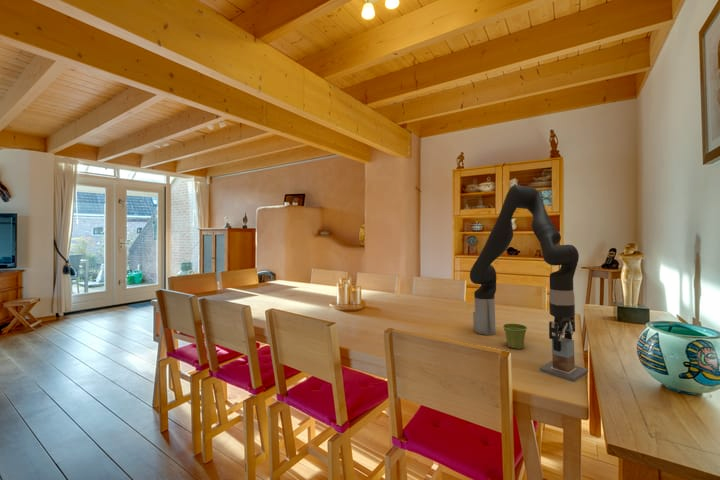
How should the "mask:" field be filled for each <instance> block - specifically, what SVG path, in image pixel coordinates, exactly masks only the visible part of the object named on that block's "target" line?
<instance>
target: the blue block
mask: <svg viewBox="0 0 720 480" xmlns="http://www.w3.org/2000/svg"><path fill="white" fill-rule="evenodd" d="M552 354H555V355H559V356H562V357H566V358H569V357H570V356H572V355H574V356H575V340H574V339H572V340H571V339H567V338H564V336H562V337H561V351H560V352H558V351H555V350H554V349H553V339H551V355H552Z"/></svg>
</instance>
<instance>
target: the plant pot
mask: <svg viewBox="0 0 720 480" xmlns="http://www.w3.org/2000/svg"><path fill="white" fill-rule="evenodd" d="M502 328H503V330H504V332H505V337H506V338H505V339H506V344H507V347H508V346H509V348H510V347H511V349H517V350H520V349H523V348H524V345H525V336H526V331H527V330H528V326H526V325H523V324H520V323H505V324H503V325H502Z"/></svg>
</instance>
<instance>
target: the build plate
mask: <svg viewBox="0 0 720 480" xmlns="http://www.w3.org/2000/svg"><path fill="white" fill-rule="evenodd" d="M539 371H541V372H543V373H546V374H549V375H553V376H556V377H558V378H562V379H565V380H567V381H571V382H576V381H577V380H579V379H581V377H583V376H584V375H585V373H586V374H587V373H589V369H588V368H585V367H582V366H579V365H575V368H574V369H573V370H571V371H570V372H565V371H562V370H558V369H555V368H553V361H552V360H551V361H549V362H547V363H545V364H543V365H542V366H540V367H539Z"/></svg>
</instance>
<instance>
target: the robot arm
mask: <svg viewBox="0 0 720 480" xmlns="http://www.w3.org/2000/svg"><path fill="white" fill-rule="evenodd" d="M502 203H503V204H502V206H501V209H500V212H499V215H498V216H497V218H496V221H495V224H494V225H493V228H492V230H491V231H490V232H489V235H488V237H487V239H486V242H485V244H484V246H483V247H482V250H481V251H480V253H479V255H478V257H477V259H476V261H475V262H474V263H473V265H472V266H471V269H470V271H469V279H470V281H471V282H472V283H473V284H475V285H480V286H479V288H477V289H476V290H474V293H473V296H474V299H473V301H474V312H472V316H473V317H472V318H473V319H472V321H473V322H472V323H473V332H474V331H476V332H477V333H476V332H475V333H476V334H478V333H479V334H478V335H481V334H484V335H483V336H493V335H495V334H496V303H495V301H496V300H495V295H496V292H497V272H496V269H495V268H494V266H493V265H492V263H494V261H495V260H496V259H498V258H499V257H500V256H502V255H503V254H504V253H505V251H506V250H507V249H508V247H509V246H510V244H511V242H512V240H513V237H514V229H513V222H512V220H513V217H514V214H515V211H516V210H517V209H523V210H527V211H529V212H530V214H531V215H532V221H531V222H532V223H531V228H532V232H533V234H534V235H535V237H536V238H537V241H538V242H539V244H540V248H541V253H542V258H543V259H542V260H544V262H545V263H546V264H548V265H549V266H560V268H559V269H558V270H556V271H553V272H551V273H550V274H549V293H548V294H549V295H548V299H549V300H548V302H549V304H548V306H549V309H548V310H549V314H550V315H551V316H553V317H554V319H553V321H549V322H548V338H549V340H552V339H553V349H554V350H555V351H558V352H560V351H561V337H563V338H567V339H571V340H573V335H574V333H575V332H576V324H575V323H576V322H575V321H576V319H575V315H576V303H575V300H576V299H575V297H576V296H575V291H574V277H575V273H576V270H577V266H578V263H579V258H580V255H579V251H578V248H576V247H575V246H574V245H573V244H559V243H560V242H561V239H562V236H561V233H560V232H559V230H558V229H557V228H556V226H555V224H554V223H553V222H552V220H551V218H550V217H549V215H548V213H547V210H546V207H545V205H544V203H543V199H542V198H541V195H540V193H539V191H538V190H537V189H536V188H535V187H533V186H525V185H519V184H515V185H512V186H511V187H510V188H509V189H508V192H507V193H506V195H505V198H504V201H503V202H502Z"/></svg>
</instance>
